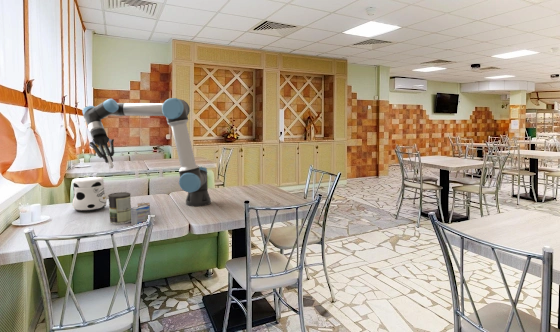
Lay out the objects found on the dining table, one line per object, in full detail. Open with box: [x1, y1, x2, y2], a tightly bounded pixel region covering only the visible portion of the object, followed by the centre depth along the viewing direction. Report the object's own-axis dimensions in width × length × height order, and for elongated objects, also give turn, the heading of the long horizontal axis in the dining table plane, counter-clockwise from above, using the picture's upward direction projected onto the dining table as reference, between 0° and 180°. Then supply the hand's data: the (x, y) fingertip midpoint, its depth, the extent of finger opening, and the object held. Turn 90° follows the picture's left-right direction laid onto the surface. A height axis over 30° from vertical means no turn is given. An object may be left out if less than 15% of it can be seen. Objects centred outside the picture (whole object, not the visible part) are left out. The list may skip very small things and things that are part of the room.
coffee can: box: [107, 191, 132, 225], centre depth 176 cm, size 10×10×14 cm
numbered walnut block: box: [137, 202, 151, 207], centre depth 185 cm, size 6×6×7 cm
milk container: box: [72, 176, 108, 212], centre depth 200 cm, size 17×17×18 cm
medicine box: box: [130, 205, 151, 226], centre depth 172 cm, size 8×4×9 cm, turn 148°
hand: (111, 167), depth 189 cm, fingers closed
